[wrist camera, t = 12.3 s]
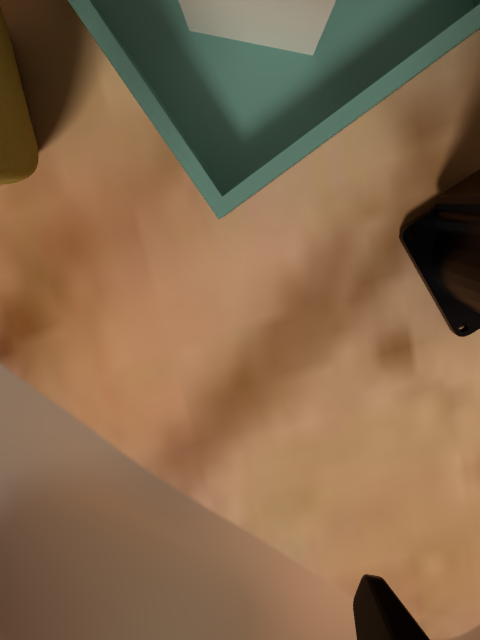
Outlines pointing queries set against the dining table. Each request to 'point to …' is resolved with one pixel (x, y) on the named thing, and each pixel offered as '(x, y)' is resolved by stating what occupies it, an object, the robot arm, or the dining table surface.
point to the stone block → (261, 21)
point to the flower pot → (14, 118)
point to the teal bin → (266, 81)
